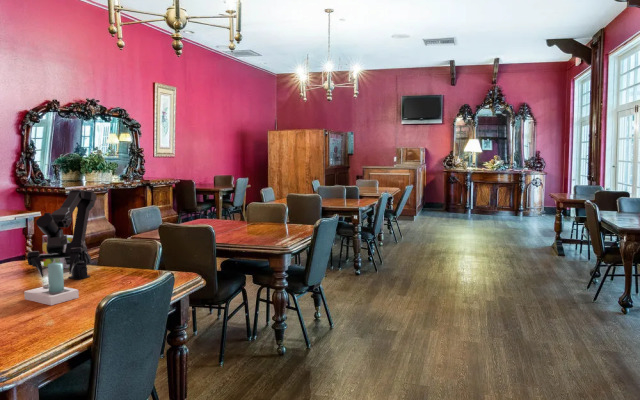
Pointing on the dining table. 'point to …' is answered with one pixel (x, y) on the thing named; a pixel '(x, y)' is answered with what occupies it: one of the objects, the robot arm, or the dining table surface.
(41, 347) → the dining table surface
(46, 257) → the robot arm
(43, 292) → the socket plate
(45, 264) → the snack box
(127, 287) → the dining table surface
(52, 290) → the plug
